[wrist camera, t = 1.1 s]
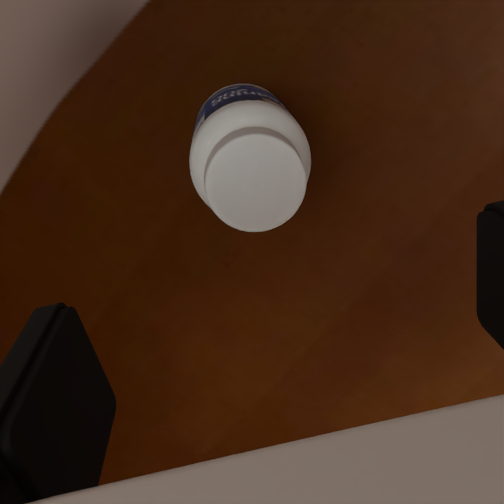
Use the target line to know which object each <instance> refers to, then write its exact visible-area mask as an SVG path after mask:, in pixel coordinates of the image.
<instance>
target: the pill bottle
mask: <svg viewBox="0 0 504 504" xmlns="http://www.w3.org/2000/svg"><path fill="white" fill-rule="evenodd" d="M189 163H190V172H191V177H192V181H193V184H194V186H195V188H196V190H197V192H198V194H199V195H200V197H201V198H202V200H203V201H204V202H205V203H206V204H207V205H208V206H209V207H210V208H211V209H212V210H213V211H214V213H215V214H216V215H217V216H218V217H219V218H220V219H221V220H222V221H223V222H225V223H226V224H228V225H229V226H231V227H233V228H236V229H238V230H242V231H247V232H262V231H267V230H271V229H273V228H276V227H278V226H280V225H282V224H283V223H285V222H286V221H287V220H289V219H290V218H291V217H292V216H293V215H294V214H295V212H296V211H297V210H298V208H299V207H300V205H301V203H302V201H303V198H304V195H305V191H306V184H307V181H308V178H309V174H310V168H311V154H310V148H309V144H308V141H307V138H306V136H305V134H304V132H303V130H302V128H301V127H300V125H299V124H298V122H297V121H296V120H295V119H294V117H293V116H292V115H291V114H290V112H289V111H288V110H287V109H286V108H285V107H284V105H283V104H282V103H281V102H280V101H279V100H278V99H277V98H276V97H275V96H274V95H273V94H272V93H271V92H269V91H267V90H266V89H264V88H262V87H259V86H256V85H253V84H234V85H230V86H226V87H224V88H222V89H220V90H218V91H217V92H215V93H214V94H213V95H211V96H210V97H209V98H208V100H207V101H206V102H205V103H204V105H203V106H202V108H201V110H200V112H199V114H198V117H197V120H196V124H195V129H194V134H193V139H192V145H191V149H190V160H189Z"/></svg>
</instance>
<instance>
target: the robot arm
mask: <svg viewBox="0 0 504 504" xmlns="http://www.w3.org/2000/svg"><path fill="white" fill-rule="evenodd" d="M477 316H478V319H479V321H480V323H481V325H482V326H483V328H484V329H485V330H486V331H487V332H488V333H489V334H490V335H491V336H492V337H493V338H494V340H495V341H496V342H497V343H498V344H499V345H500V346H501V347H502V348H503V349H504V200H503V201H499V202H494V203H490V204H487V205H486V206H485V207H484V210H483V212H480V213H479V214H478V216H477ZM115 411H116V399H115V395H114V392H113V390H112V388H111V386H110V384H109V381H108V379H107V377H106V375H105V373H104V370H103V368H102V366H101V364H100V362H99V359H98V357H97V355H96V353H95V351H94V348H93V346H92V344H91V342H90V340H89V337H88V335H87V333H86V331H85V329H84V326H83V324H82V322H81V320H80V318H79V315H78V313H77V311H76V310H75V309H74V307H67V306H66V305H65V304H64V303H57V304H53V305H49V306H44V307H40V308H36V309H35V310H34V312H33V313H32V315H31V317H30V318H29V320H28V322H27V323H26V325H25V327H24V328H23V330H22V331H21V333H20V335H19V336H18V338H17V340H16V341H15V343H14V345H13V346H12V348H11V350H10V351H9V353H8V354H7V356H6V358H5V359H4V361H3V363H2V364H1V366H0V504H504V394H502V395H498V396H493V397H489V398H484V399H480V400H475V401H471V402H466V403H462V404H457V405H453V406H448V407H444V408H439V409H435V410H430V411H426V412H421V413H417V414H412V415H408V416H403V417H399V418H395V419H390V420H386V421H381V422H377V423H372V424H368V425H363V426H359V427H354V428H350V429H345V430H341V431H337V432H332V433H328V434H323V435H319V436H315V437H310V438H306V439H301V440H297V441H293V442H288V443H284V444H279V445H275V446H271V447H266V448H262V449H257V450H253V451H249V452H244V453H240V454H235V455H231V456H226V457H222V458H218V459H213V460H209V461H204V462H200V463H195V464H191V465H187V466H183V467H178V468H174V469H170V470H165V471H161V472H157V473H152V474H148V475H144V476H139V477H135V478H131V479H126V480H122V481H118V482H113V483H109V484H105V485H100V486H98V483H99V479H100V475H101V471H102V466H103V462H104V458H105V454H106V449H107V445H108V441H109V437H110V433H111V428H112V424H113V420H114V416H115Z"/></svg>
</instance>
